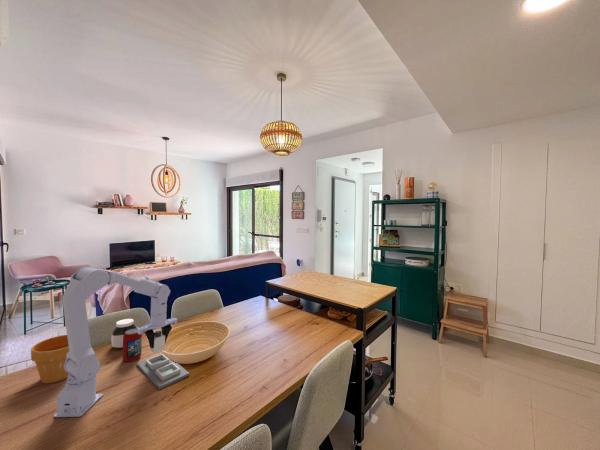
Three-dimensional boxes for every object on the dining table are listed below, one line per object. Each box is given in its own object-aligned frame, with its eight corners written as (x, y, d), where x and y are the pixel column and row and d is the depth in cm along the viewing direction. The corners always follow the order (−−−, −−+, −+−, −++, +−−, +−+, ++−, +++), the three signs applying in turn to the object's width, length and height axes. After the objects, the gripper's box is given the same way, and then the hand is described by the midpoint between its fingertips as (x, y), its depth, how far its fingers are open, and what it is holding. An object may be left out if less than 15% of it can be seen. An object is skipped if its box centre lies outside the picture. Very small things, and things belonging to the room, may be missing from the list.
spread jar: (110, 352, 111) (111, 326, 111) (111, 342, 121) (112, 318, 120) (142, 345, 119) (143, 321, 118) (140, 336, 128) (141, 313, 128)
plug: (164, 349, 103) (165, 331, 103) (154, 353, 100) (154, 335, 100) (160, 346, 105) (161, 329, 105) (150, 350, 102) (150, 332, 102)
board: (189, 375, 97) (189, 369, 97) (159, 389, 88) (159, 382, 88) (165, 355, 111) (165, 349, 111) (137, 365, 102) (137, 359, 102)
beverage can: (131, 363, 103) (132, 335, 103) (118, 361, 105) (119, 333, 104) (145, 355, 110) (145, 328, 110) (132, 353, 111) (132, 326, 111)
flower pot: (34, 373, 95) (34, 340, 95) (83, 361, 104) (83, 330, 104) (26, 394, 84) (27, 356, 84) (82, 378, 93) (82, 344, 93)
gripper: (172, 306, 110) (171, 336, 111) (135, 314, 99) (134, 348, 99) (179, 310, 106) (178, 341, 106) (141, 319, 95) (140, 354, 95)
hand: (157, 345), depth 102 cm, fingers closed on plug, 4 cm apart
